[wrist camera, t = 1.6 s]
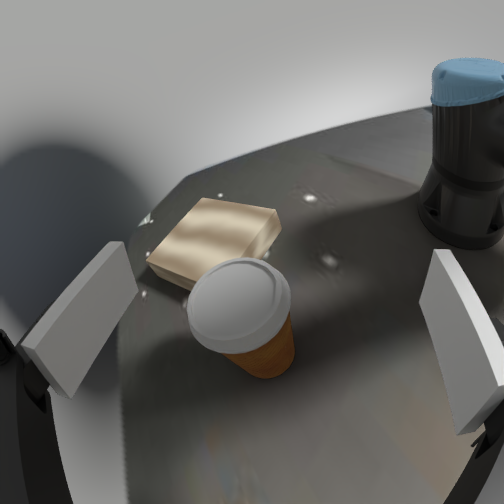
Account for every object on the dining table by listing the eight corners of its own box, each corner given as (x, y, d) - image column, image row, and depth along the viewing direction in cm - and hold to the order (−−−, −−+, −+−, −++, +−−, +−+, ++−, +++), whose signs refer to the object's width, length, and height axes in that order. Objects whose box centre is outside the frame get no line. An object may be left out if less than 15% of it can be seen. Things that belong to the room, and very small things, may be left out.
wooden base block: (210, 214, 56) (202, 197, 54) (282, 229, 48) (275, 209, 45) (158, 276, 49) (145, 260, 46) (227, 307, 41) (216, 289, 38)
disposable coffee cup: (277, 407, 30) (241, 367, 22) (213, 366, 35) (163, 314, 27) (324, 337, 34) (309, 272, 26) (259, 307, 39) (226, 242, 31)
